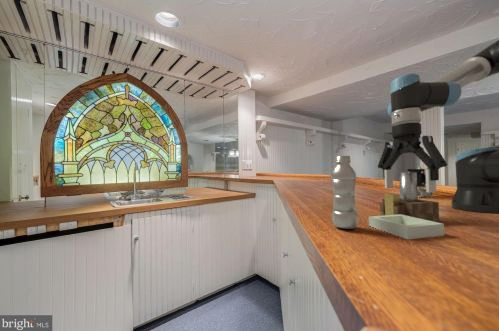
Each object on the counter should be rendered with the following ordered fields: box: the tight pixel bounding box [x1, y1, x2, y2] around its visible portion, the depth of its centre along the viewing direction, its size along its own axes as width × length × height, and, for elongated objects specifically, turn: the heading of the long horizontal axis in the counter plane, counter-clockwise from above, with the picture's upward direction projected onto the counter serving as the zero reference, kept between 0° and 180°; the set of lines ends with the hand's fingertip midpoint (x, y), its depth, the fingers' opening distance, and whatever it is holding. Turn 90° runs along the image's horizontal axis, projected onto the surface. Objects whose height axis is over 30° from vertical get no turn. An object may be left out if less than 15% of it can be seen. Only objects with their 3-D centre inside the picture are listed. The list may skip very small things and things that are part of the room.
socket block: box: [379, 198, 440, 223], centre depth 63 cm, size 13×10×6 cm
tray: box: [368, 214, 445, 240], centre depth 52 cm, size 11×11×3 cm
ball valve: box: [407, 165, 434, 198], centre depth 112 cm, size 18×8×18 cm, turn 124°
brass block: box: [383, 192, 400, 215], centre depth 62 cm, size 2×3×8 cm
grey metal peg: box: [398, 172, 419, 202], centre depth 64 cm, size 4×4×15 cm
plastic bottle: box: [330, 155, 359, 230], centre depth 55 cm, size 6×7×20 cm
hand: (408, 190), depth 64 cm, fingers open, 13 cm apart
